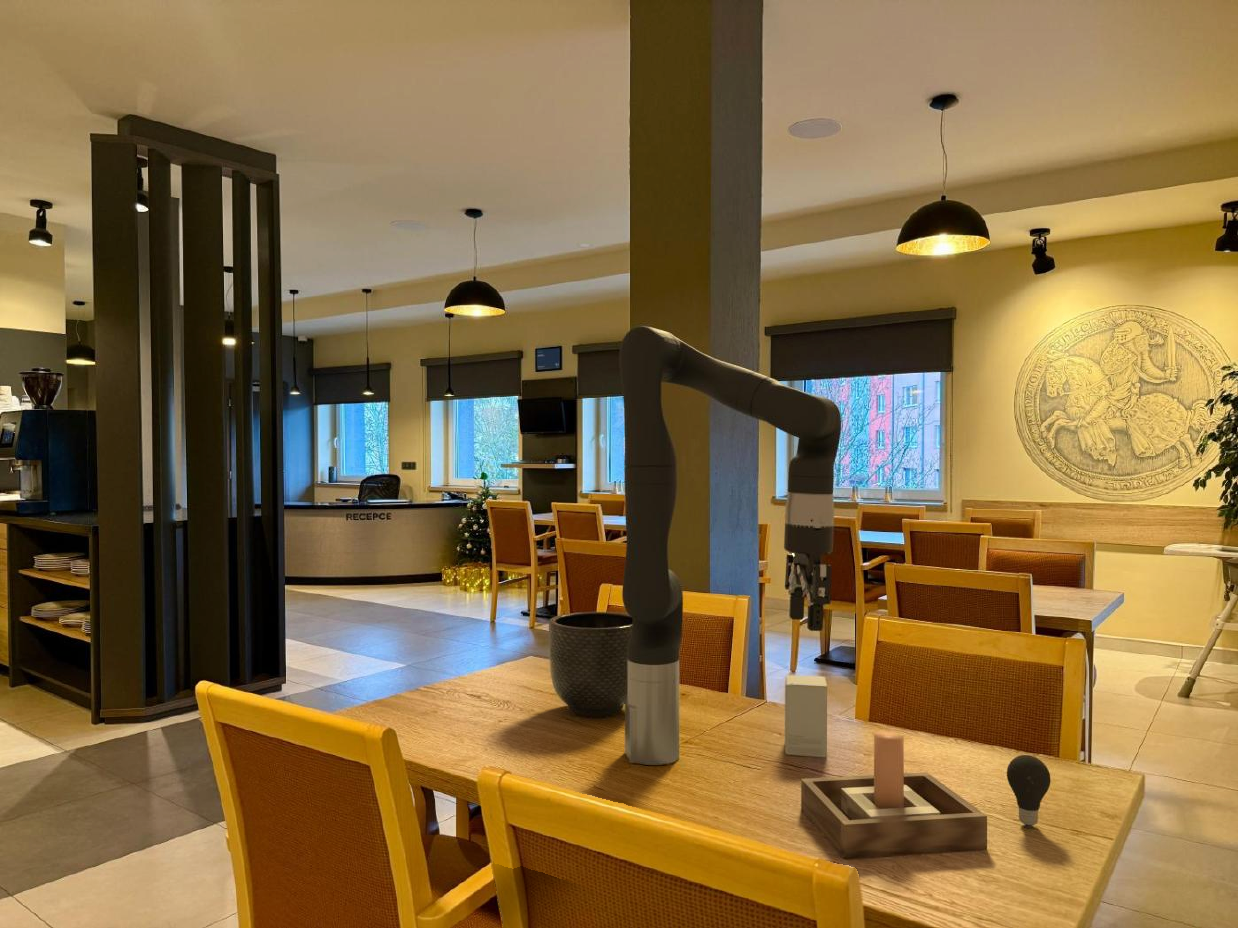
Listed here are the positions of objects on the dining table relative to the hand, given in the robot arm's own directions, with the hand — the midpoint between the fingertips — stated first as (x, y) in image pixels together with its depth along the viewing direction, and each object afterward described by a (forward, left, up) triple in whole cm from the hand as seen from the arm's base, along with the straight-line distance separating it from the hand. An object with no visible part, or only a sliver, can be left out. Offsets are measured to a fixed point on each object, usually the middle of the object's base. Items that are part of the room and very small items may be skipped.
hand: (805, 624), depth 132 cm
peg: (+7, -15, -25) cm, 30 cm away
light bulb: (+27, -17, -26) cm, 41 cm away
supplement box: (+7, +18, -27) cm, 33 cm away
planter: (-28, +47, -26) cm, 61 cm away
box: (+7, -15, -26) cm, 31 cm away
